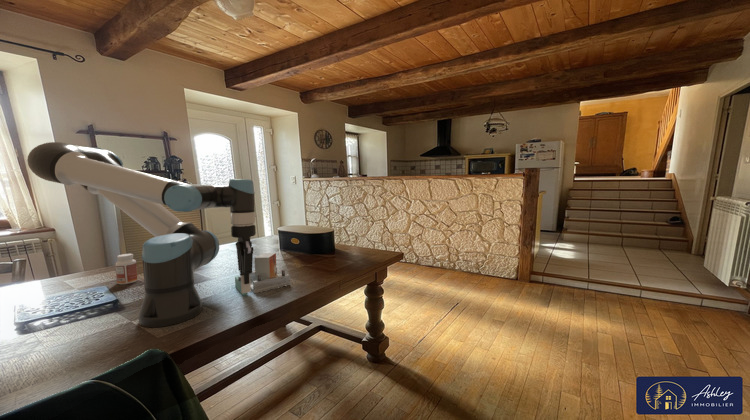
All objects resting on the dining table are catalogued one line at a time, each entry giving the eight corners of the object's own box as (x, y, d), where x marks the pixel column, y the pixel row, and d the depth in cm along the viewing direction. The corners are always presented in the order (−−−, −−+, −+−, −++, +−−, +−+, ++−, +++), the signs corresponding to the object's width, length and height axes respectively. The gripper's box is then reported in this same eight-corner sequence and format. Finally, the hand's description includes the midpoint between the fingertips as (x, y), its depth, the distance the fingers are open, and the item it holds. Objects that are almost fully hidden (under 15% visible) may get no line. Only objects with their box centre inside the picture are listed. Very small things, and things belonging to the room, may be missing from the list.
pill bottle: (137, 278, 116) (135, 252, 115) (137, 282, 111) (135, 255, 110) (117, 281, 112) (115, 254, 111) (116, 286, 107) (114, 257, 106)
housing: (255, 293, 99) (254, 277, 99) (242, 282, 111) (242, 267, 110) (290, 285, 108) (289, 270, 107) (275, 276, 119) (275, 262, 119)
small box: (270, 285, 105) (269, 257, 104) (255, 285, 105) (254, 257, 104) (277, 278, 113) (276, 252, 112) (263, 278, 113) (262, 252, 112)
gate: (243, 295, 97) (242, 281, 97) (234, 287, 106) (234, 273, 105) (248, 294, 98) (247, 280, 98) (239, 286, 107) (238, 273, 106)
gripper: (260, 225, 93) (263, 295, 95) (249, 222, 103) (251, 284, 105) (236, 227, 88) (239, 300, 90) (226, 223, 98) (229, 289, 100)
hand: (246, 292), depth 97 cm, fingers closed
